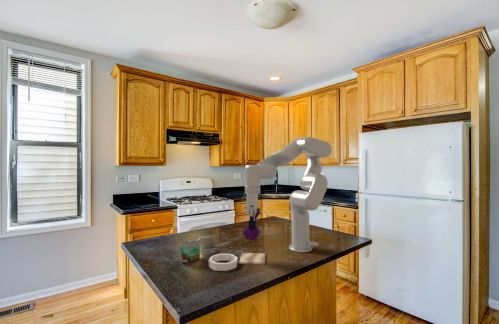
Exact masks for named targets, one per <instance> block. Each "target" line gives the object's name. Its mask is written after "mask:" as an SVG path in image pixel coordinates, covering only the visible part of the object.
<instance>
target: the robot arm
mask: <svg viewBox="0 0 499 324" xmlns="http://www.w3.org/2000/svg"><path fill="white" fill-rule="evenodd" d="M332 152H333V147H332V145H331V144H330V143H329V142H328V141H326V140H323V139H318V138H315V137H312V136H304V137H297V138H296V139H293V140H292V141H291V142H289V143H288V144H287V145H286V146H284V147H282V149H279V150H277V151H276V152H274V153H272V154H270V155H268V156H266V157H265V158H263V159H262V160H261V161H259V162H257V163H256V164H246V165H245V167H244V194H246V199H245V200H246V204H245V205H246V209H245V214H246V215H248V225H249V229H255V214H256V213H257V206H258V204H259V203H258V201H259V197H258V196H259V194H261V180H273V179H274V178H275V177H276V175H277V172H278V171H277V168H279V167H284V166H287V165H289V164H291V163H292V162H294V161H295V160H296V159H297V158H299V157H300V156H301V155H305V157H306V160H307V161H306V162H307V165H306V167H305V170H304V172H303V174H302V176H301V178H300V181H299V187H300V188H301V189H302V190H298V189H297V190H294V191H292V192H291V193H290V196H289V205H290V210H291V211H290V212H291V213H290V215H291V244H289V245H288V249H289V250H290V251H292V252H295V253H308V252H311V251H313V247H319V242H316V241H311V240H310V213H309V211H315V210H317V209H318V208H319V207H320V205H321V202H322V201H323V198H324V196H325V193H326V191H327V189H328V183H329V181H328V178H327V177H326V176H325V175H324V174H321V173H322V170H323V164H322V161H321V160H320V159H322V158H325V159H326V158H328V157H330V156H331V154H332Z"/></svg>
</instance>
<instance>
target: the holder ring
mask: <svg viewBox="0 0 499 324" xmlns="http://www.w3.org/2000/svg"><path fill="white" fill-rule="evenodd" d="M220 261H224V262H220ZM225 261H226V262H225ZM237 267H238V256H236V255H234V254H232V253H218V254H214V255H211V256H210V258H209V259H208V268H209V269H211V270H213V271H217V272H221V271H223V272H227V271H230V270H235V269H236V268H237Z"/></svg>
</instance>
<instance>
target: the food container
mask: <svg viewBox="0 0 499 324" xmlns="http://www.w3.org/2000/svg"><path fill="white" fill-rule="evenodd" d="M202 244H203V240H202V238H201V237H200V236H197V237H196V238H194V239H189V240H187V241H184V242H182V241H180V242H179V248H180V253H181V254H180V257H181V263H182V264H188V265H189V264H195V263H197V262H199V261H200V255H201V245H202Z"/></svg>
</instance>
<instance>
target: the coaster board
mask: <svg viewBox="0 0 499 324" xmlns="http://www.w3.org/2000/svg"><path fill="white" fill-rule="evenodd" d="M239 257H240V258H239V261H238V264H239V265H266V253H264V252H263V253H255V252H242V253H241V254H240V256H239Z"/></svg>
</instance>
